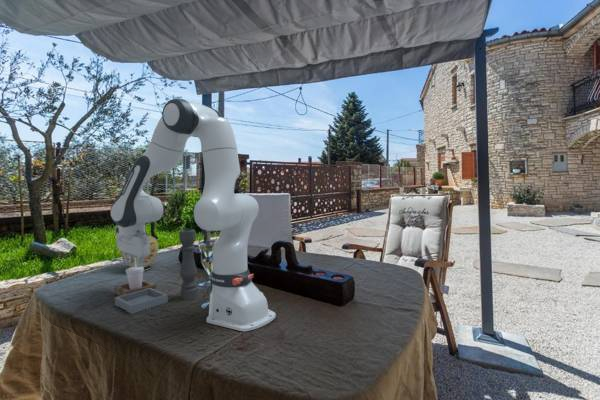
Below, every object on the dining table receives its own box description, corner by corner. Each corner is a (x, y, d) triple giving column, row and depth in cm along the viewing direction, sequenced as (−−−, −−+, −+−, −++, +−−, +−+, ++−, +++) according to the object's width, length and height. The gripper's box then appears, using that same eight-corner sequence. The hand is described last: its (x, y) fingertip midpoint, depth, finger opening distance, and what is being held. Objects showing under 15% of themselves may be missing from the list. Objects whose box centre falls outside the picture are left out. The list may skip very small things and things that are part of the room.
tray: (167, 302, 115) (167, 294, 115) (131, 314, 105) (131, 305, 105) (150, 294, 123) (150, 287, 123) (115, 305, 113) (114, 297, 113)
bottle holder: (156, 291, 126) (156, 284, 126) (127, 300, 118) (127, 292, 117) (143, 286, 133) (142, 279, 133) (115, 294, 124) (114, 286, 124)
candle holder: (177, 298, 119) (174, 231, 117) (189, 293, 124) (187, 229, 123) (189, 301, 116) (186, 232, 114) (201, 295, 121) (199, 230, 120)
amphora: (154, 263, 170) (152, 207, 168) (164, 269, 157) (161, 209, 156) (116, 269, 159) (113, 209, 157) (124, 277, 146) (121, 211, 144)
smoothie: (148, 290, 128) (146, 255, 127) (138, 296, 122) (137, 259, 121) (133, 290, 129) (131, 255, 128) (122, 295, 122) (121, 259, 121)
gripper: (154, 231, 120) (155, 267, 121) (129, 226, 132) (130, 259, 133) (137, 233, 115) (138, 271, 116) (112, 227, 127) (114, 262, 128)
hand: (133, 264), depth 125 cm, fingers open, 8 cm apart
